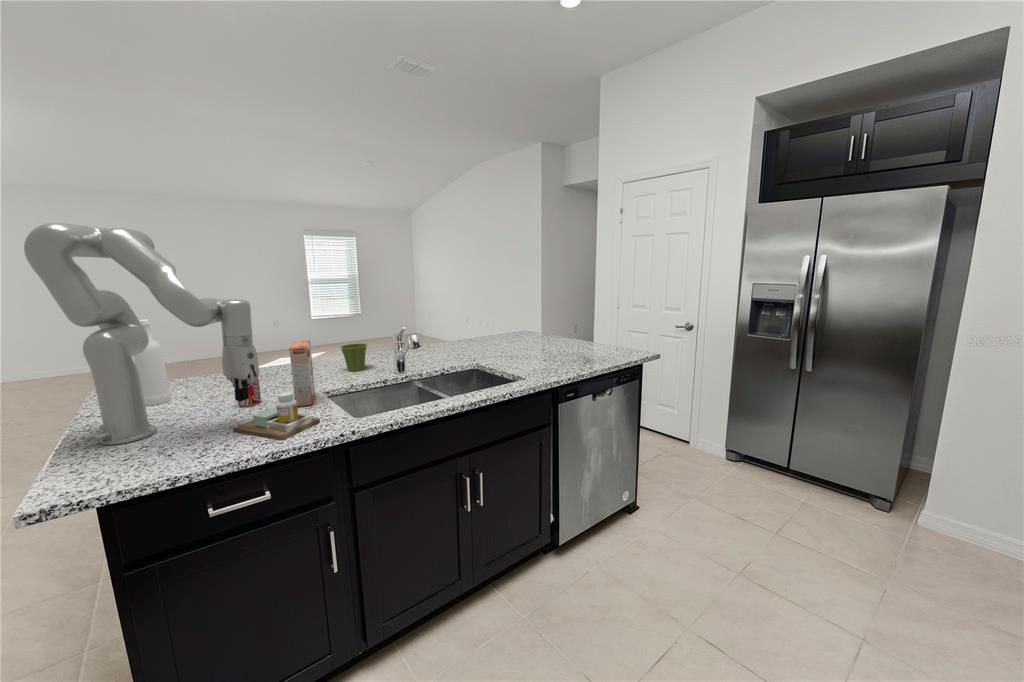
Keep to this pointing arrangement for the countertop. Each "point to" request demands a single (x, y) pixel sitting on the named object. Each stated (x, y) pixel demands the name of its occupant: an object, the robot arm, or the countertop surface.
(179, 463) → the countertop surface
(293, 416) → the supplement bottle
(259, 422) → the block
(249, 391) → the soda can
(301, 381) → the cracker box
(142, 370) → the bottle
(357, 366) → the plant pot
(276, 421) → the board
